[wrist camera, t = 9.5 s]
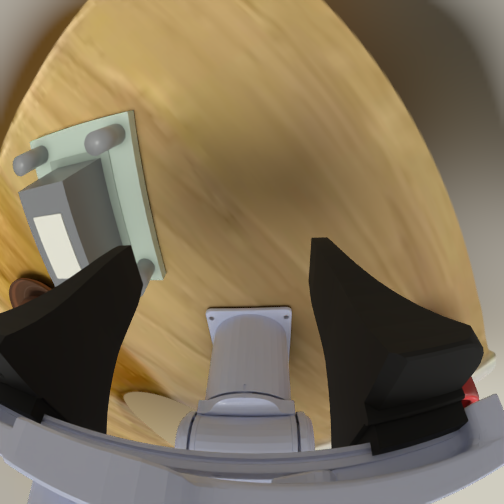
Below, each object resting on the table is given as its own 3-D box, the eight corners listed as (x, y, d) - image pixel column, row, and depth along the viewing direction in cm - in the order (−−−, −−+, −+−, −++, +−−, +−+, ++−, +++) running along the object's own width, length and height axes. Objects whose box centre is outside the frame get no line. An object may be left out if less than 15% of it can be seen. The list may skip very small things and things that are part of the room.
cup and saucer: (20, 252, 24) (-11, 285, 19) (100, 310, 28) (78, 352, 23) (15, 306, 29) (-6, 336, 24) (80, 352, 33) (64, 386, 28)
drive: (124, 251, 22) (98, 290, 18) (83, 253, 22) (55, 288, 18) (100, 157, 18) (61, 181, 13) (57, 168, 18) (17, 192, 14)
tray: (165, 273, 24) (153, 303, 21) (78, 273, 25) (59, 299, 22) (133, 110, 17) (106, 117, 14) (36, 138, 18) (6, 152, 14)
